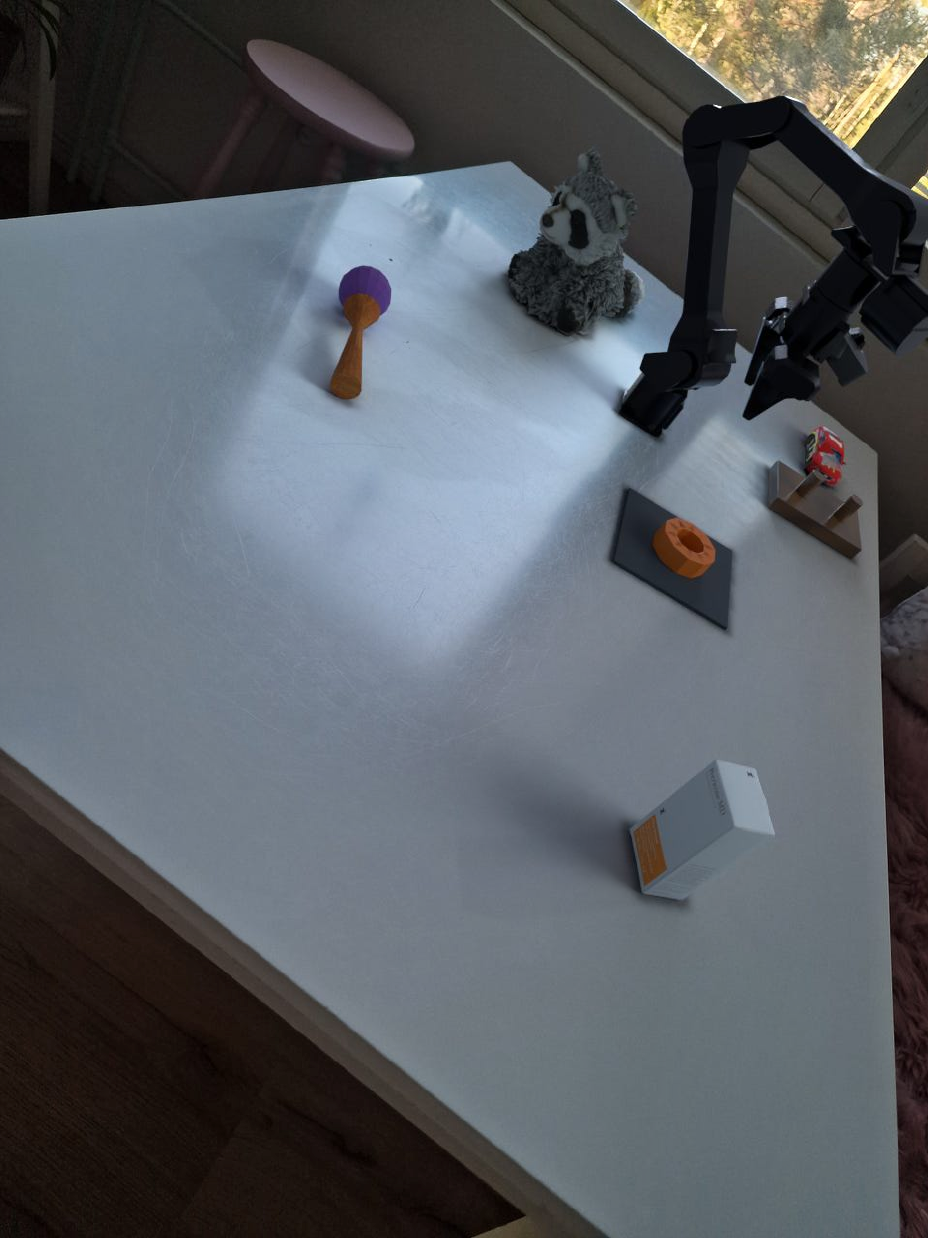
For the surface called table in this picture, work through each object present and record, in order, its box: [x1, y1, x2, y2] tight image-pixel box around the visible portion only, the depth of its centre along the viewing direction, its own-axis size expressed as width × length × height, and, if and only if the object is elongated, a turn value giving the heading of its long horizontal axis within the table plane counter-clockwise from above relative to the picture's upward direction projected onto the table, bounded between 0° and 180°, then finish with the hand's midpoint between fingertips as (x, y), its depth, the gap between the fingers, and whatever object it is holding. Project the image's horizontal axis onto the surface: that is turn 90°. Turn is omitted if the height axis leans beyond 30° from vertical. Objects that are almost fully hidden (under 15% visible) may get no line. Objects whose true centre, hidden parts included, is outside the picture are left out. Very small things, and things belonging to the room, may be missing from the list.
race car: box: [803, 425, 847, 487], centre depth 149 cm, size 13×5×4 cm, turn 161°
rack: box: [767, 459, 864, 560], centre depth 137 cm, size 14×10×6 cm
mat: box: [612, 487, 733, 630], centre depth 115 cm, size 15×15×1 cm
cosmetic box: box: [629, 759, 776, 901], centre depth 79 cm, size 6×4×12 cm
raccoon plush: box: [507, 146, 646, 337], centre depth 138 cm, size 15×32×21 cm, turn 145°
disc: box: [653, 517, 715, 579], centre depth 114 cm, size 7×7×2 cm
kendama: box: [329, 265, 392, 401], centre depth 108 cm, size 6×6×20 cm
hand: (746, 400), depth 122 cm, fingers open, 9 cm apart
